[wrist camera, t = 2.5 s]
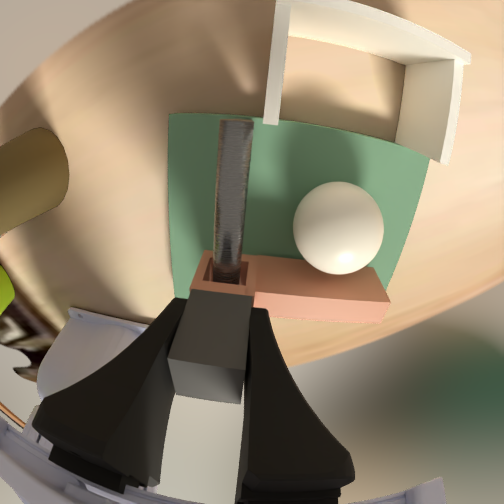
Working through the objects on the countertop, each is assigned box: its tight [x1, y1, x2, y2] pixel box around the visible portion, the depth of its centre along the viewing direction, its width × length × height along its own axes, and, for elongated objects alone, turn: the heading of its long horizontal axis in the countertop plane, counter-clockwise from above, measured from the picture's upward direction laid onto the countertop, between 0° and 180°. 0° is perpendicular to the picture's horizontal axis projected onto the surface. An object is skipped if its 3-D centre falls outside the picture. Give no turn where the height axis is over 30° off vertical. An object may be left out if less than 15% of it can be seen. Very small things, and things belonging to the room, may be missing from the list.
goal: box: [263, 0, 471, 166], centre depth 9 cm, size 7×5×5 cm
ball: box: [293, 182, 384, 274], centre depth 11 cm, size 4×4×4 cm
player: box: [167, 250, 391, 404], centre depth 11 cm, size 9×2×7 cm, turn 85°
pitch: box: [168, 113, 430, 299], centre depth 14 cm, size 13×11×1 cm
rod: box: [213, 118, 254, 285], centre depth 13 cm, size 1×11×3 cm, turn 175°
